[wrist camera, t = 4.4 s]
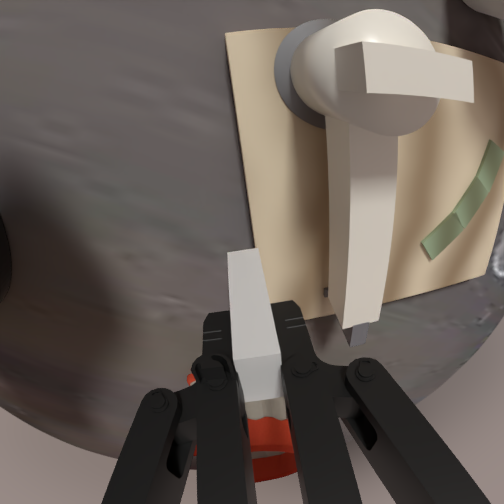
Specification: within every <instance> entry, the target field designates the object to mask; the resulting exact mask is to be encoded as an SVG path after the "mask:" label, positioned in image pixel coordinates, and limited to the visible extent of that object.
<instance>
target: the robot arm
mask: <svg viewBox="0 0 504 504" xmlns="http://www.w3.org/2000/svg"><path fill="white" fill-rule="evenodd" d="M227 255H228V277H229V298H230V310H229V311H222V312H214V313H209V314H208V315H207V317H206V319H205V321H204V324H203V351H202V356H200V357H198V358H197V359H196V360H195V361H194V363H193V364H192V368H191V371H192V374H193V376H194V378H195V380H196V382H195V383H194V384H193V385H191V386H189V387H187V388H185V389H182V390H180V391H177V392H174V393H173V392H172V391H171V390H168V389H166V388H157V389H154V390H151V391H150V392H149V393H147V394H146V395H145V397H144V398H143V400H142V401H141V404H140V406H139V409H138V411H137V413H136V416H135V418H134V421H133V423H132V426H131V428H130V431H129V433H128V436H127V438H126V441H125V443H124V446H123V448H122V451H121V453H120V456H119V458H118V461H117V463H116V466H115V469H114V472H113V474H112V476H111V479H110V482H109V485H108V487H107V490H106V493H105V495H104V498H103V501H102V503H101V504H180V502H181V498H182V495H183V491H184V487H185V484H186V480H187V477H188V473H189V469H190V466H191V462H192V459H193V455H194V451H195V448H196V444H197V501H198V504H257V499H256V491H255V482H254V473H253V465H252V456H251V447H250V438H249V428H248V419H247V413H246V410H245V402H252V401H259V400H266V399H273V398H279V397H284V399H285V405H286V418H288V424H289V429H290V434H291V440H292V445H293V451H294V456H295V461H296V467H297V472H298V477H299V482H300V488H301V493H302V499H303V504H362V501H361V497H360V493H359V489H358V486H357V482H356V479H355V475H354V471H353V467H352V464H351V460H350V457H349V453H348V450H347V447H346V443H345V439H344V436H343V432H342V429H341V426H340V422H339V419H338V417H340V418H341V419H342V421H343V422H344V424H345V426H346V427H347V429H348V430H349V432H350V433H351V435H352V436H353V438H354V440H355V441H356V443H357V444H358V446H359V447H360V449H361V450H362V452H363V454H364V455H365V457H366V458H367V460H368V461H369V463H370V464H371V466H372V467H373V469H374V470H375V472H376V474H377V475H378V477H379V478H380V480H381V481H382V483H383V484H384V486H385V487H386V489H387V490H388V492H389V493H390V495H391V496H392V498H393V499H394V501H395V502H396V504H491V503H490V502H489V500H488V499H487V498H486V496H485V495H484V493H483V492H482V491H481V489H480V488H479V487H478V485H477V484H476V483H475V482H474V480H473V479H472V477H471V476H470V475H469V474H468V472H467V471H466V470H465V468H464V467H463V466H462V465H461V463H460V462H459V460H458V459H457V458H456V457H455V455H454V454H453V453H452V451H451V450H450V449H449V448H448V446H447V445H446V444H445V443H444V441H443V440H442V439H441V437H440V436H439V435H438V434H437V432H436V431H435V430H434V428H433V427H432V426H431V425H430V424H429V422H428V421H427V420H426V418H425V417H424V416H423V415H422V414H421V412H420V411H419V410H418V409H417V407H416V406H415V405H414V403H413V402H412V401H411V400H410V398H409V397H408V396H407V395H406V394H405V392H404V391H403V390H402V389H401V387H400V386H399V385H398V384H397V383H396V381H395V380H394V379H393V378H392V376H391V375H390V374H389V373H388V372H387V370H386V369H385V368H384V367H383V366H382V364H380V363H379V362H378V361H377V360H374V359H372V358H359V359H355V360H354V361H353V362H351V363H350V364H349V366H335V365H329V364H327V363H324V362H323V361H321V360H320V359H319V358H318V357H317V356H316V354H315V352H314V349H313V346H312V343H311V339H310V336H309V333H308V330H307V327H306V324H305V321H304V318H303V314H302V311H301V308H300V307H299V306H298V305H297V304H296V303H295V302H294V301H293V300H289V301H283V302H277V303H271V304H270V300H269V296H268V291H267V287H266V282H265V277H264V273H263V268H262V263H261V259H260V254H259V249H258V248H254V249H247V250H241V251H234V252H228V253H227ZM10 281H11V257H10V250H9V245H8V241H7V236H6V233H5V229H4V226H3V223H2V220H1V218H0V302H1V301H2V300H3V298H4V297H5V295H6V293H7V291H8V289H9V285H10ZM244 400H245V401H244Z"/></svg>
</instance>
